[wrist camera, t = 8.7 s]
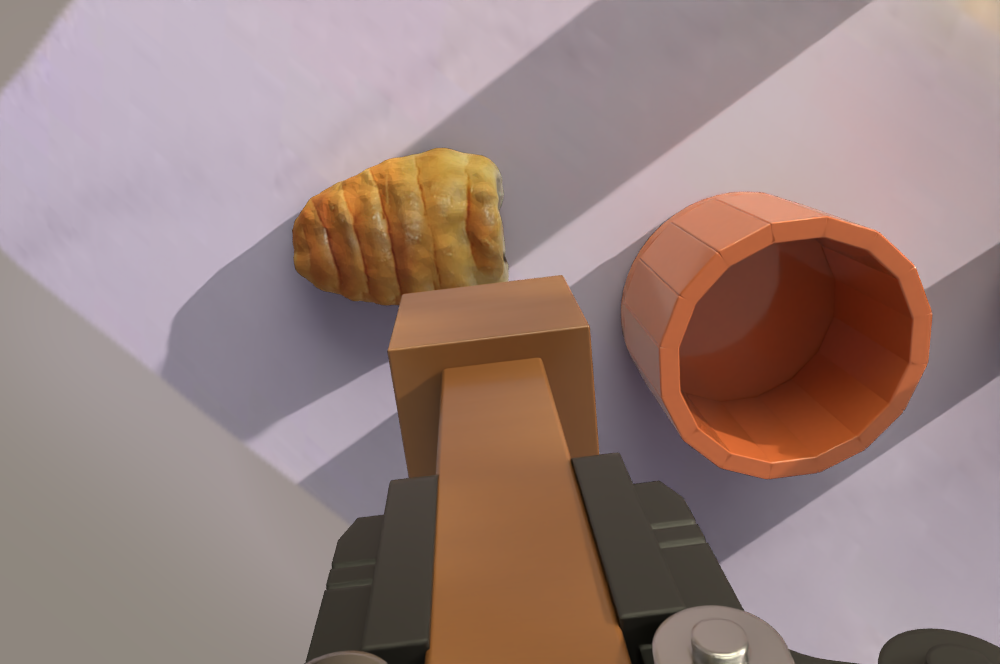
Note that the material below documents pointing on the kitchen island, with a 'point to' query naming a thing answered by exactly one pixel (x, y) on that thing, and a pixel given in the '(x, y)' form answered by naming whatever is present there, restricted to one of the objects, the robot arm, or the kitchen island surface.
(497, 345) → the wooden mallet
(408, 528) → the robot arm
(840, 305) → the crock
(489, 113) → the kitchen island surface
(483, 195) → the pastry
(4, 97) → the kitchen island surface
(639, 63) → the kitchen island surface
